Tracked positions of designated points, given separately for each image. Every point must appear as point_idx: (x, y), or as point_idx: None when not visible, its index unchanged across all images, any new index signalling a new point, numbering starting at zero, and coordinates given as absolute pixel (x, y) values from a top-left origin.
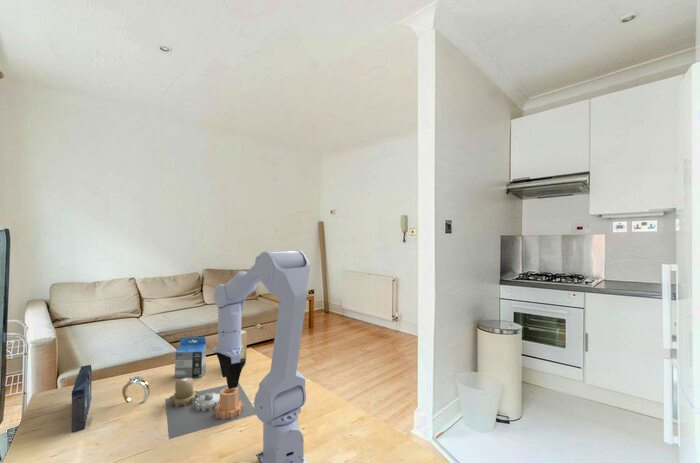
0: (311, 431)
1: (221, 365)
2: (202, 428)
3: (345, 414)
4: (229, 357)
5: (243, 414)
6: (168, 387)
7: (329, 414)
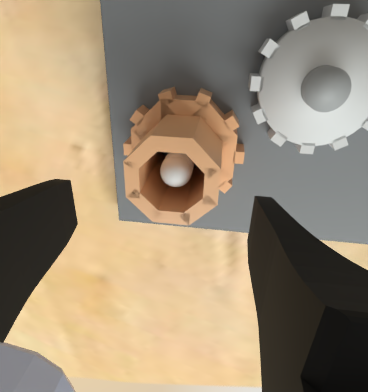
0: None
1: (275, 241)
2: (107, 11)
3: (48, 359)
4: (271, 352)
5: None
6: None
7: (61, 340)
